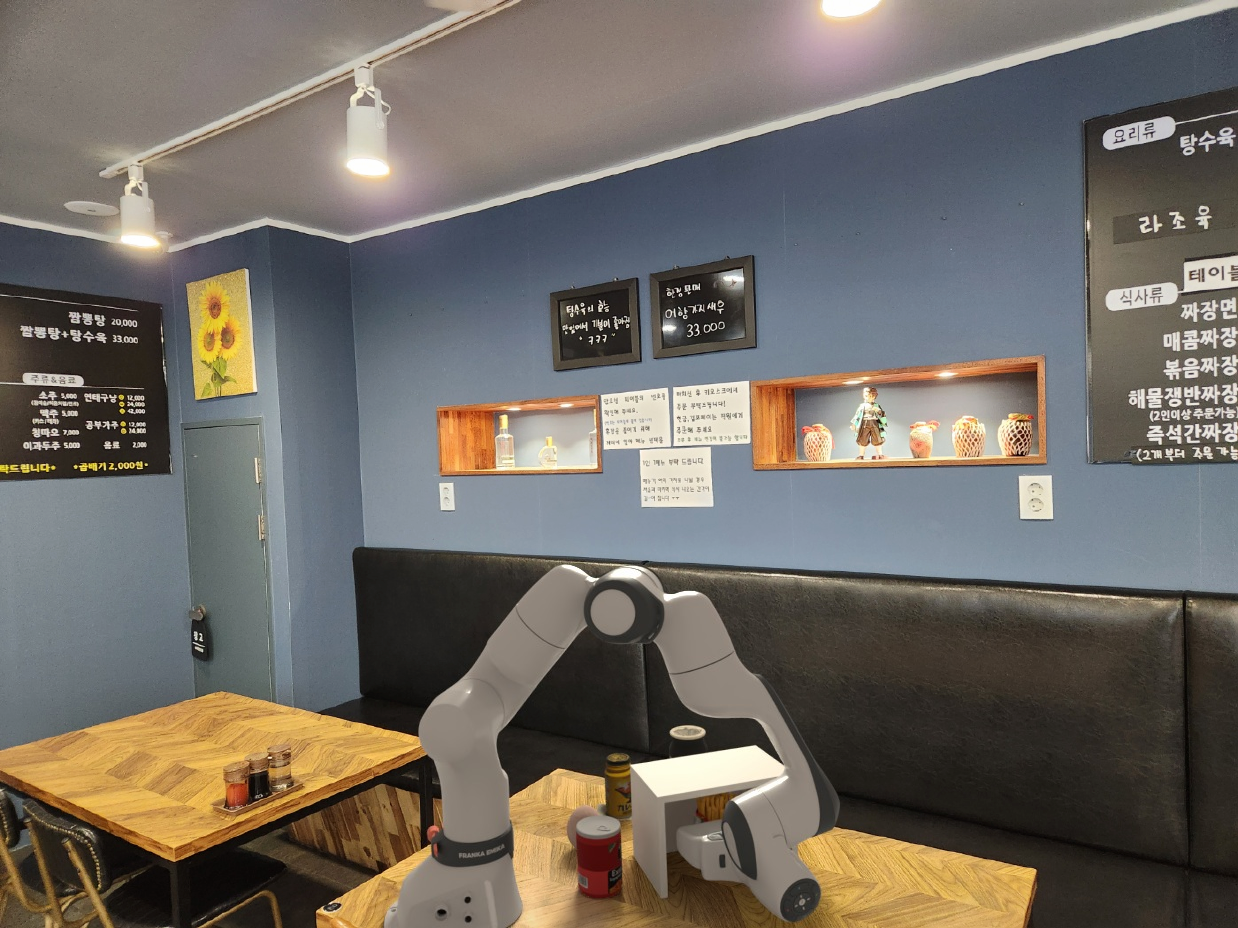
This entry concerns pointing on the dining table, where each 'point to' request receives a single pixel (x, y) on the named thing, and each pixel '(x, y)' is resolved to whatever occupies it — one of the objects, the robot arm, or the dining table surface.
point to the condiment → (617, 788)
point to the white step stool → (686, 798)
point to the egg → (575, 817)
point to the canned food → (599, 856)
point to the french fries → (713, 805)
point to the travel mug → (687, 741)
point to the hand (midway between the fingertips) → (716, 815)
